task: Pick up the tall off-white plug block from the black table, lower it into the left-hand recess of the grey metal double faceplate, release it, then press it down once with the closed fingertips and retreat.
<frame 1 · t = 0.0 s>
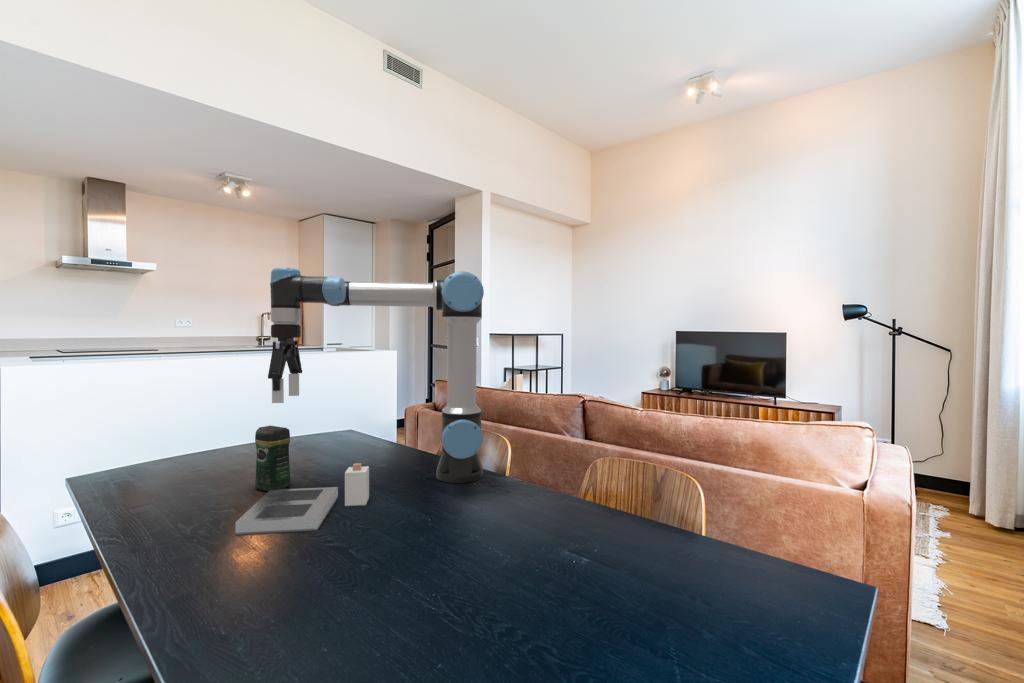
hand: (286, 399, 131), 28 cm above the table, fingers open, 13 cm apart
socket plate: (291, 514, 120), on the table
coffee jar: (273, 488, 140), on the table
plug: (357, 501, 129), on the table
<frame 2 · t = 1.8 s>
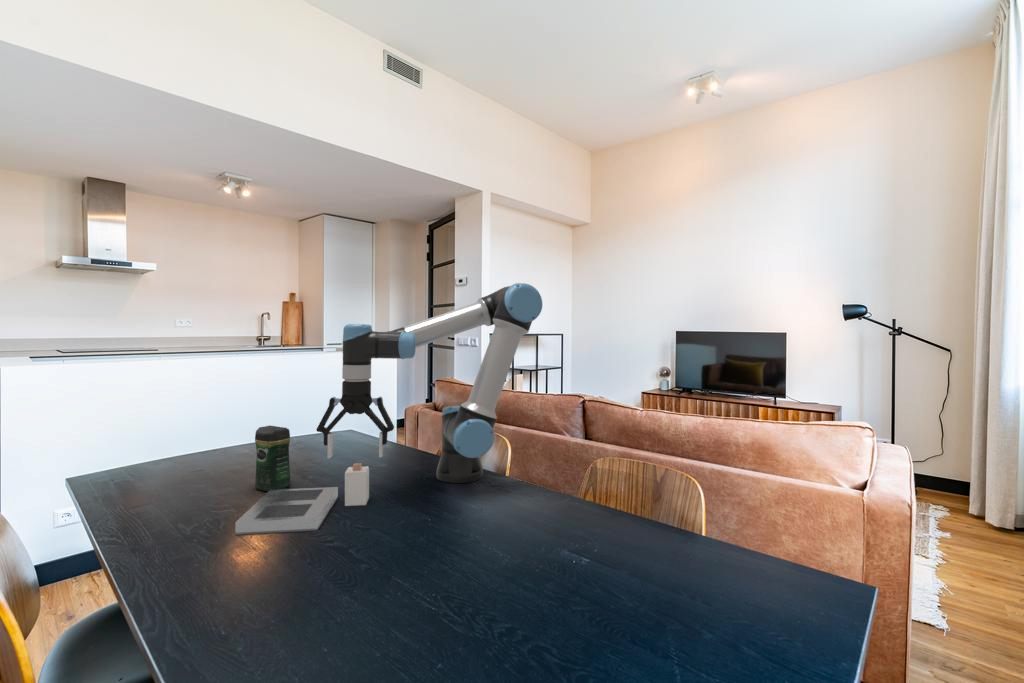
hand: (355, 456, 129), 13 cm above the table, fingers open, 13 cm apart
nothing on the table moved.
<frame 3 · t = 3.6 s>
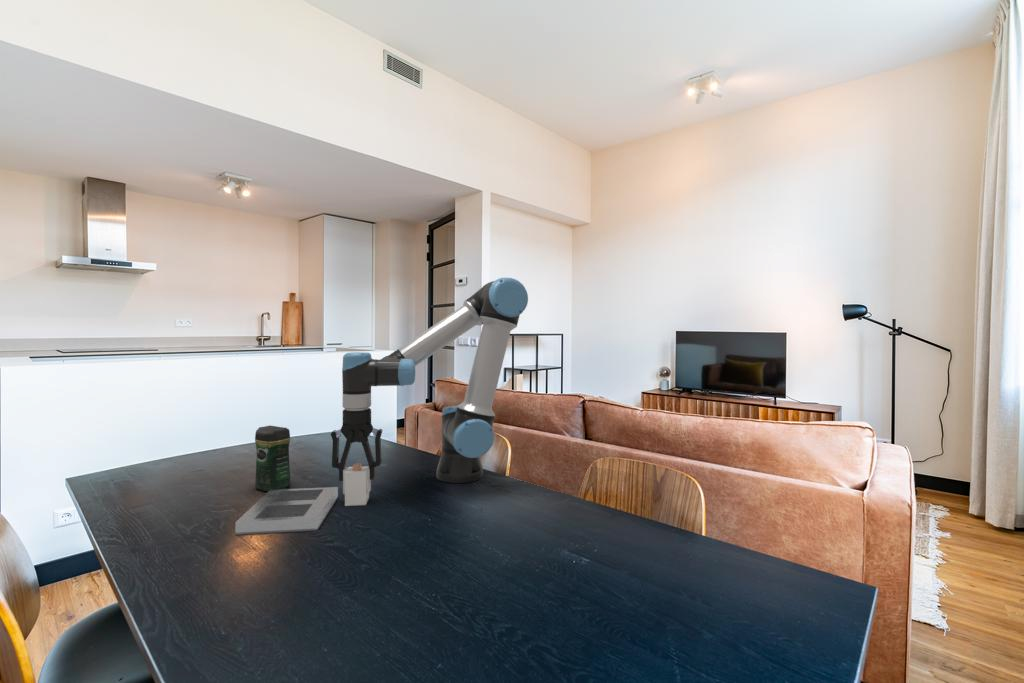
hand: (357, 491, 129), 3 cm above the table, fingers closed on plug, 5 cm apart
plug: (357, 501, 129), on the table, touching gripper
everything else where it was.
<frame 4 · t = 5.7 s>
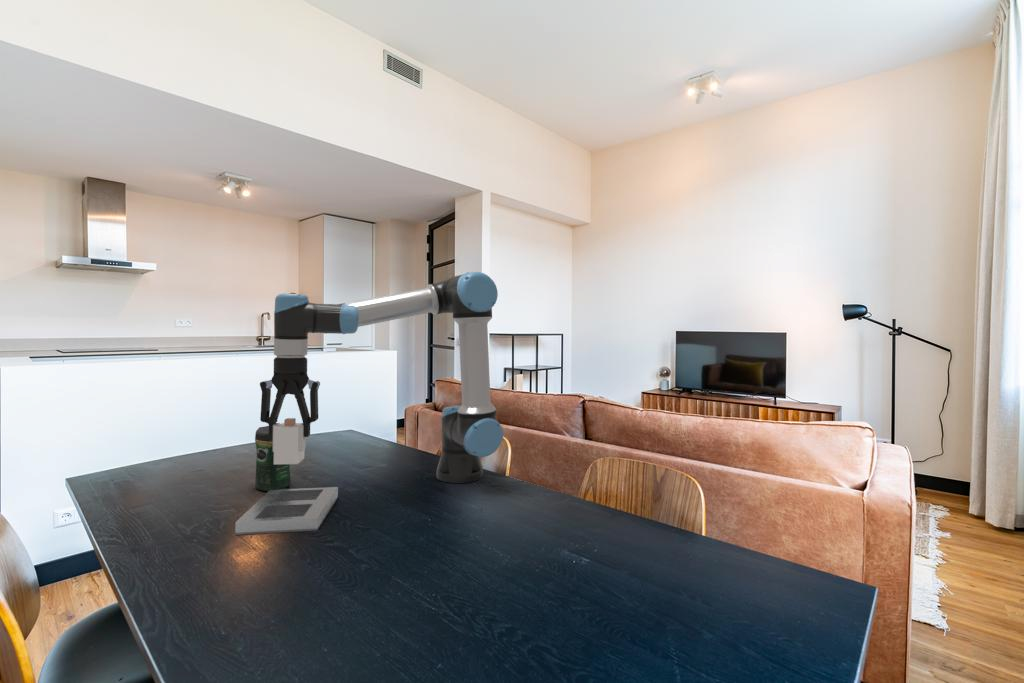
hand: (289, 449, 115), 18 cm above the table, fingers closed on plug, 5 cm apart
plug: (289, 461, 115), point 15 cm above the table, touching gripper
everything else where it was.
when the fingers open (6 cm above the table, at t = 7.7 s): plug drops 2 cm, resting on socket plate.
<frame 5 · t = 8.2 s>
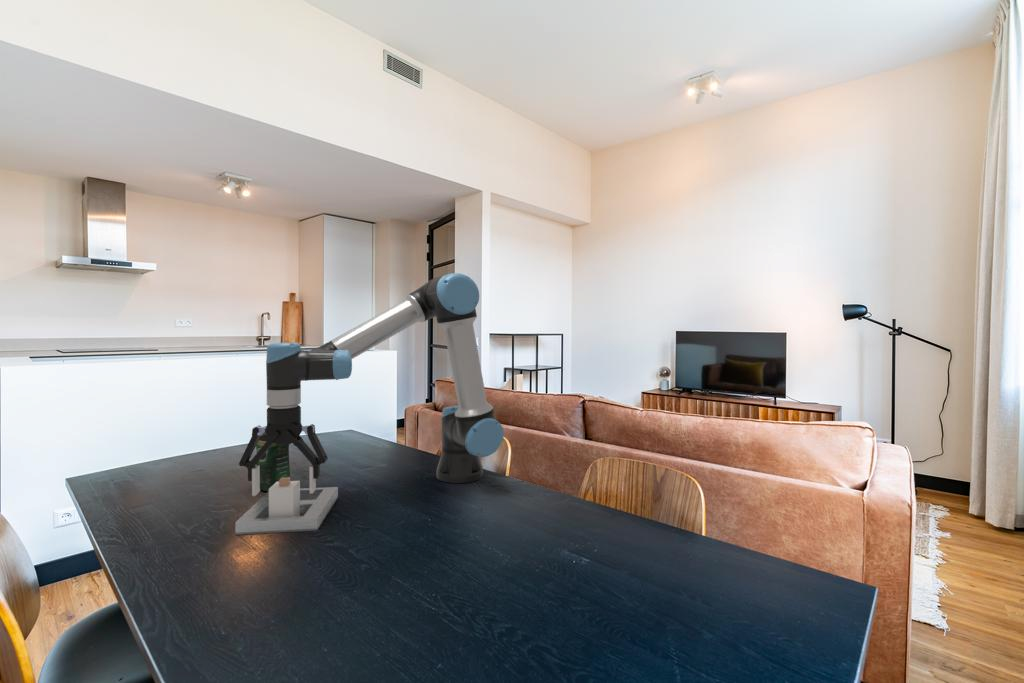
hand: (284, 492, 114), 8 cm above the table, fingers open, 12 cm apart
plug: (284, 521, 115), resting on socket plate
everything else where it was.
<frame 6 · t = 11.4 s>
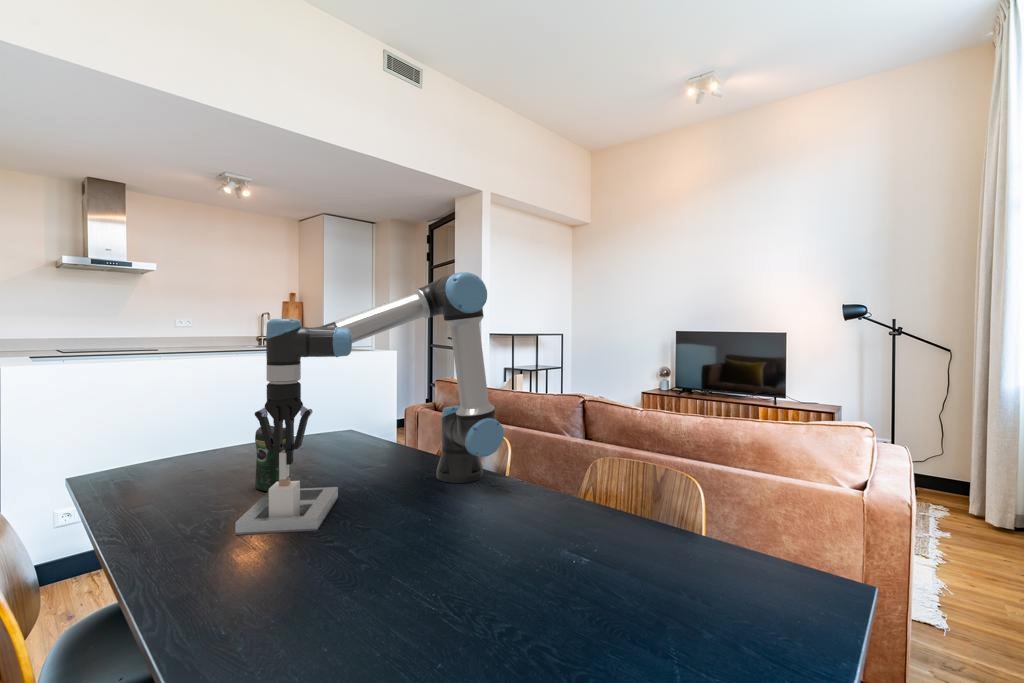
hand: (284, 477, 114), 11 cm above the table, fingers closed
plug: (284, 521, 115), resting on socket plate, touching gripper
everything else where it was.
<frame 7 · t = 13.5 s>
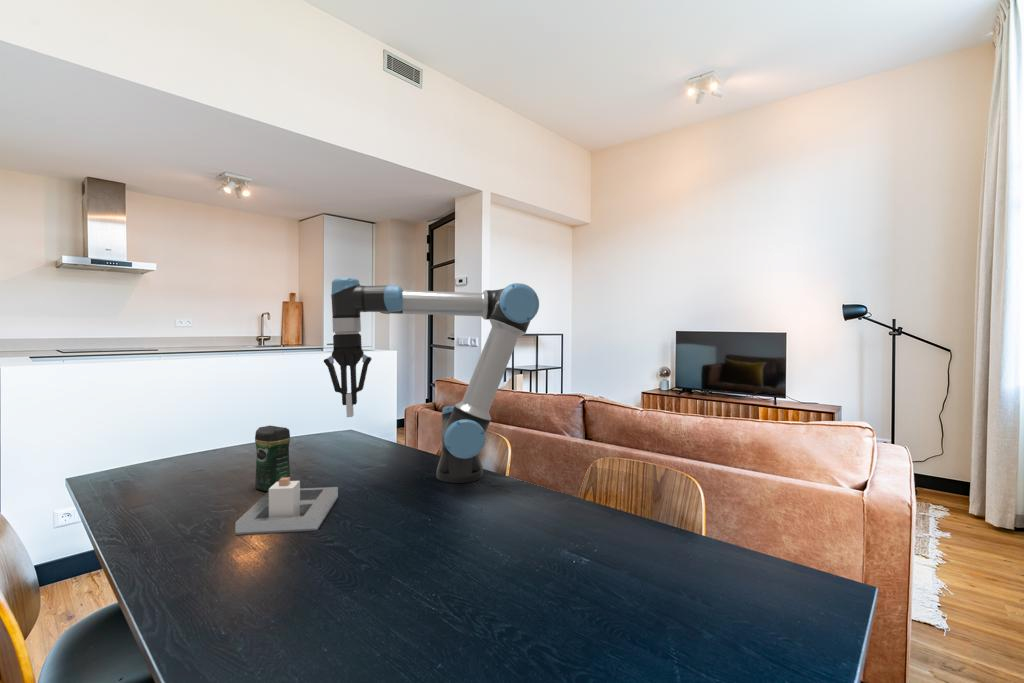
hand: (350, 416, 132), 23 cm above the table, fingers closed
plug: (284, 521, 115), resting on socket plate
everything else where it was.
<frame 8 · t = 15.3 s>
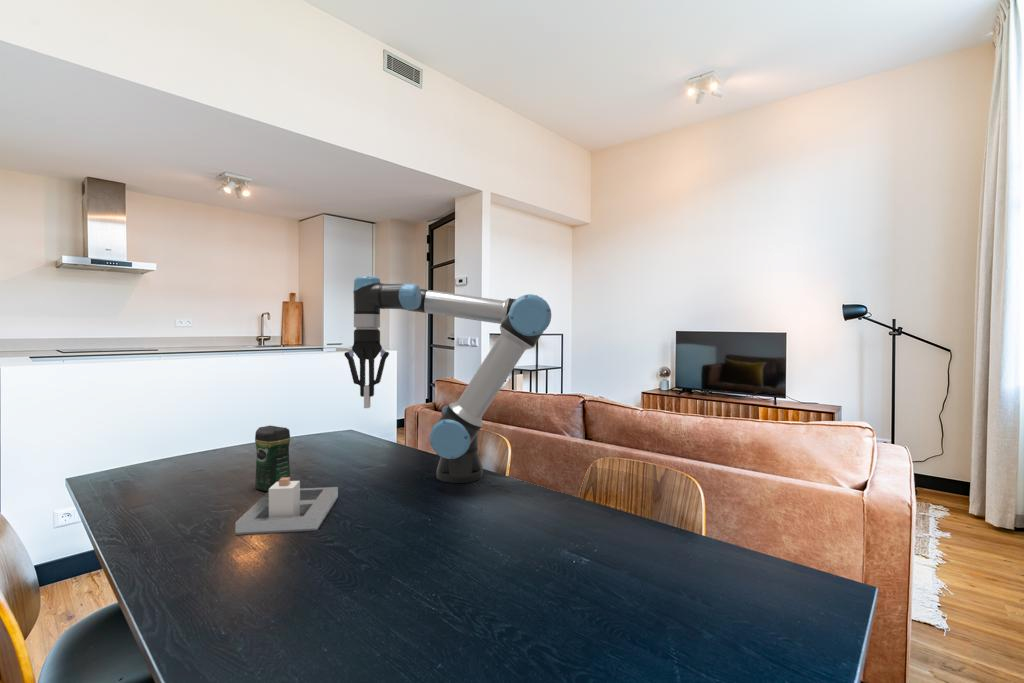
hand: (367, 407, 139), 24 cm above the table, fingers closed
nothing on the table moved.
at the end: plug 0.0 cm from the target spot on the socket plate, point 0.5 cm above the socket plate's base; plug tilted 0°; the gripper is holding nothing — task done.
